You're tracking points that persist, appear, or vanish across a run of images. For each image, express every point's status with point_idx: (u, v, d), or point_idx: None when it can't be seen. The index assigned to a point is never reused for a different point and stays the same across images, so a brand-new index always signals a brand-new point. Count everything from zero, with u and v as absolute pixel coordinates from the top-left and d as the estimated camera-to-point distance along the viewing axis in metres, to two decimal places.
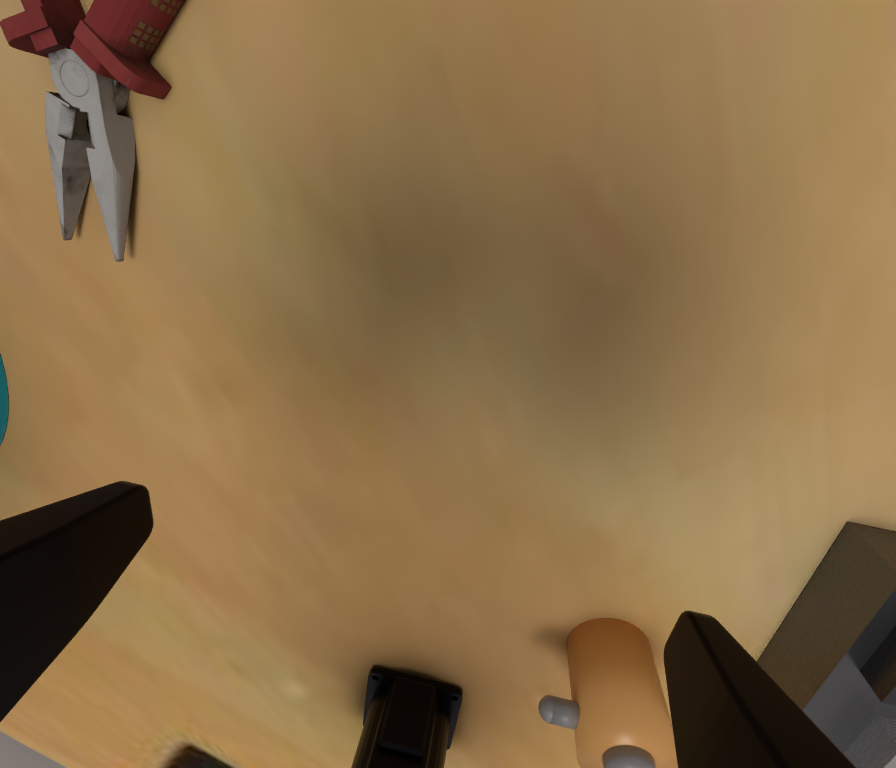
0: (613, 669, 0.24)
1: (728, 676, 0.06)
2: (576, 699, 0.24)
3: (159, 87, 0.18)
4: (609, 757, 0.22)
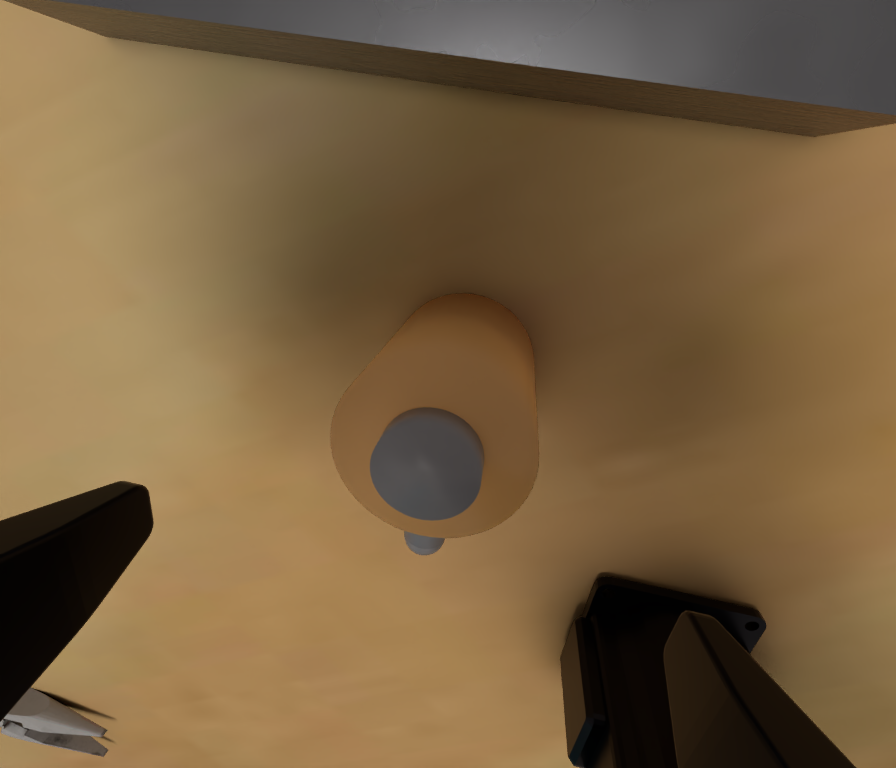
0: None
1: (728, 676, 0.06)
2: None
3: None
4: None
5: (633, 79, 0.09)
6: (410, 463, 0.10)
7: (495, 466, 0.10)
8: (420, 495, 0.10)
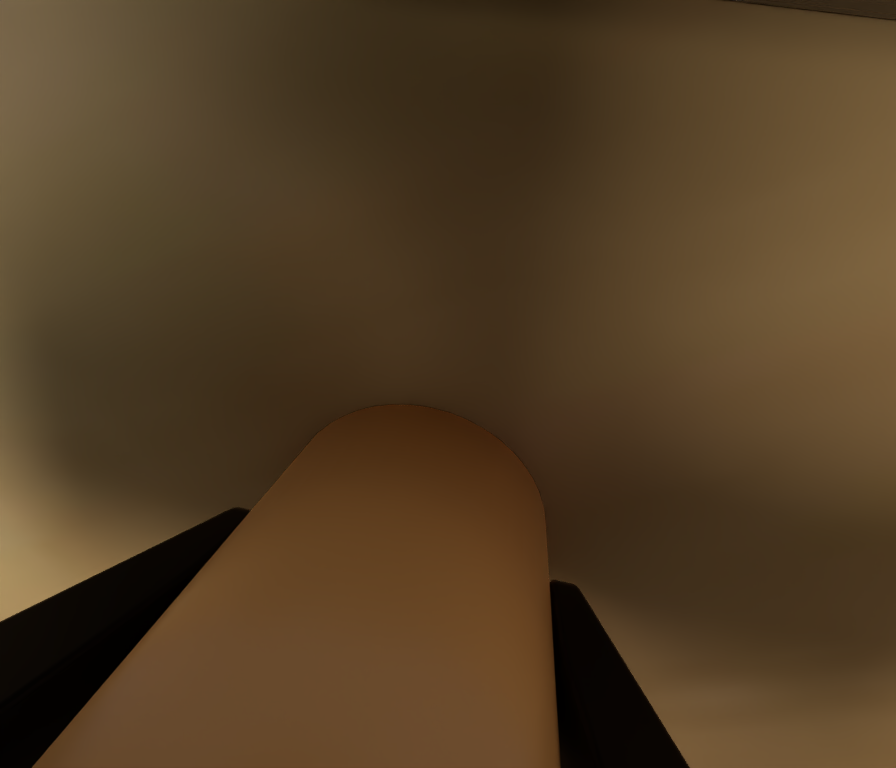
0: None
1: (566, 637, 0.06)
2: None
3: None
4: None
5: None
6: None
7: None
8: None
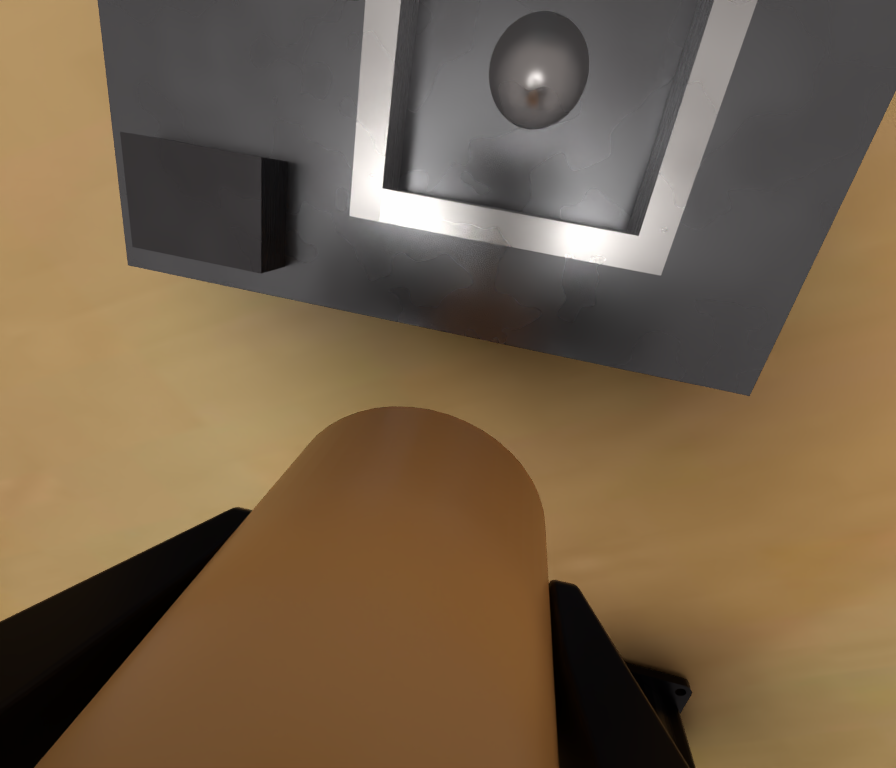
0: None
1: (566, 637, 0.06)
2: None
3: None
4: None
5: (567, 357, 0.14)
6: None
7: None
8: None
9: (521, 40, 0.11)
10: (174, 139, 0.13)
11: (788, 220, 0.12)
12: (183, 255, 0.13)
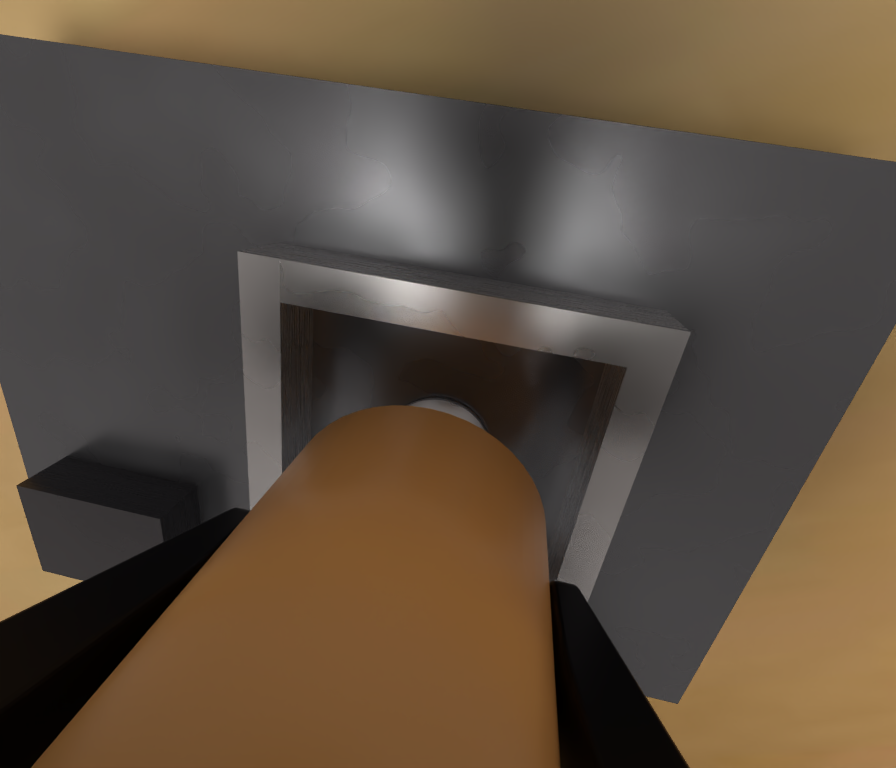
0: None
1: (566, 637, 0.06)
2: None
3: None
4: None
5: None
6: None
7: None
8: None
9: None
10: (81, 459, 0.13)
11: (703, 576, 0.11)
12: None
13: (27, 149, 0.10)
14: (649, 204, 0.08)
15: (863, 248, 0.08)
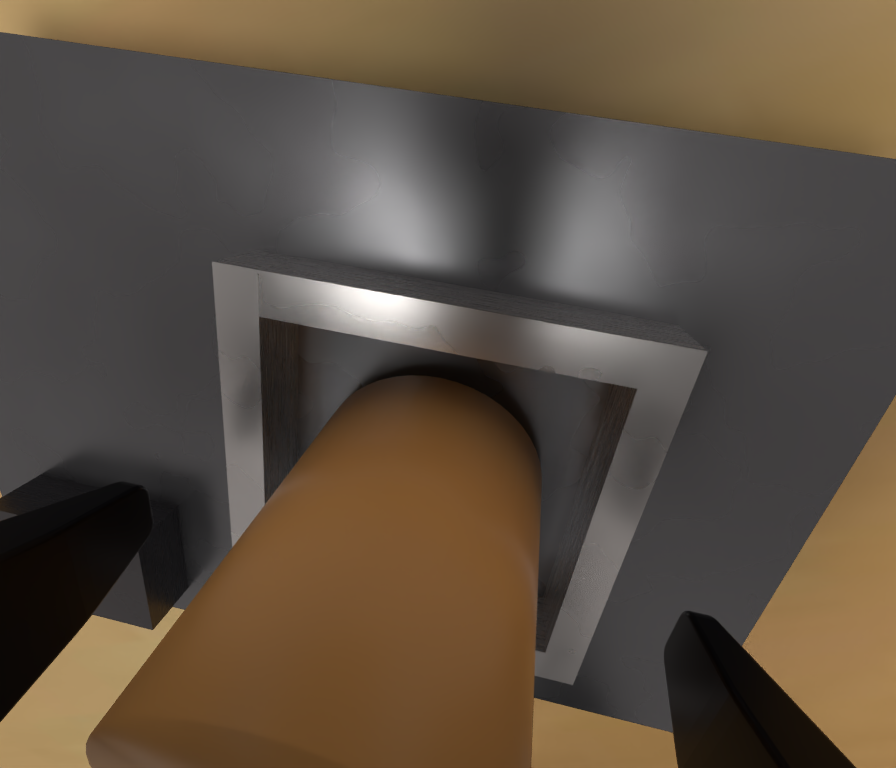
0: None
1: (728, 676, 0.06)
2: None
3: None
4: None
5: None
6: None
7: None
8: None
9: None
10: (56, 477, 0.12)
11: (715, 605, 0.11)
12: None
13: None
14: (661, 210, 0.08)
15: (895, 258, 0.07)
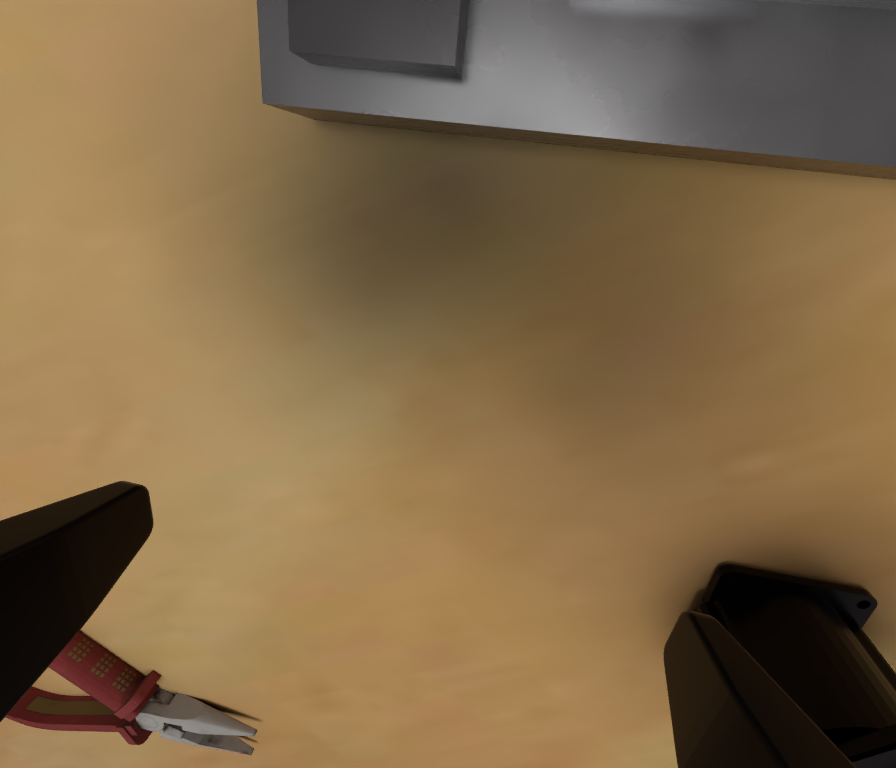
0: None
1: (728, 676, 0.06)
2: None
3: (148, 680, 0.30)
4: None
5: (819, 159, 0.11)
6: None
7: None
8: None
9: None
10: None
11: None
12: (355, 53, 0.11)
13: None
14: None
15: None
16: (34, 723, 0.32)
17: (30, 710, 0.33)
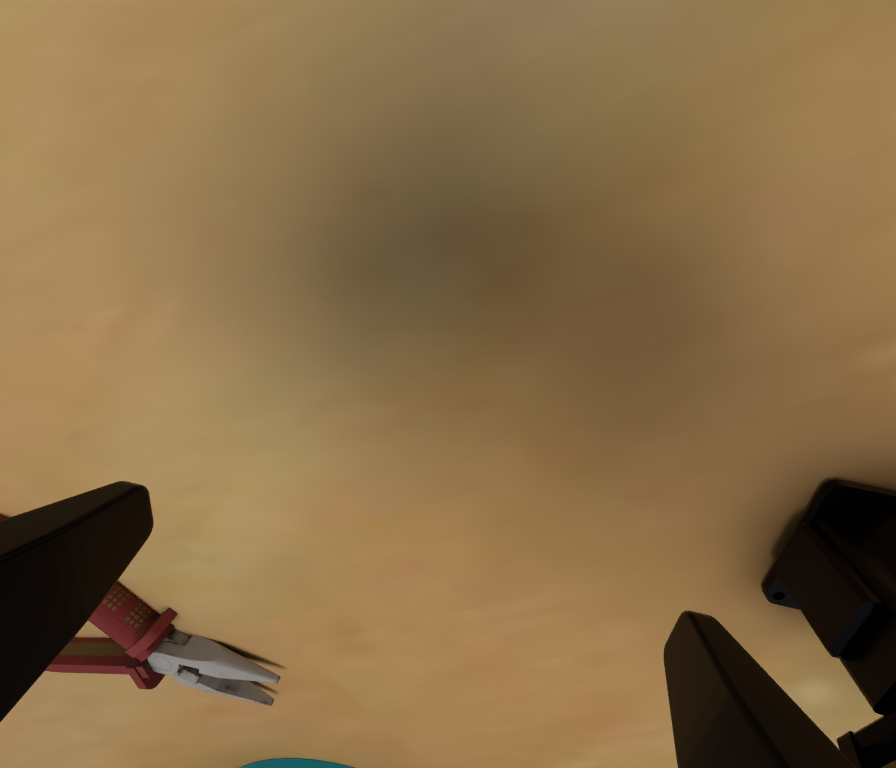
0: None
1: (728, 676, 0.06)
2: None
3: (164, 617, 0.28)
4: None
5: None
6: None
7: None
8: None
9: None
10: None
11: None
12: None
13: None
14: None
15: None
16: None
17: None
